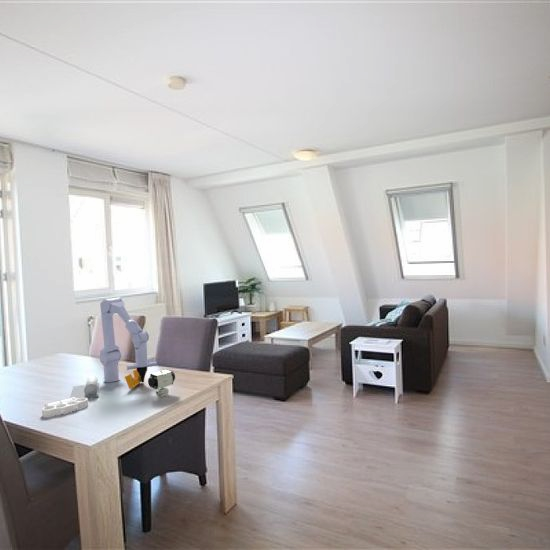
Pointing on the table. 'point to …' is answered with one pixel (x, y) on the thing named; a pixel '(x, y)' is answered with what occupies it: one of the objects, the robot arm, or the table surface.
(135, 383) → the orange notched block
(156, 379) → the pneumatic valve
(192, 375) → the table surface
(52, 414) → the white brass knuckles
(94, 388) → the duct pipe
